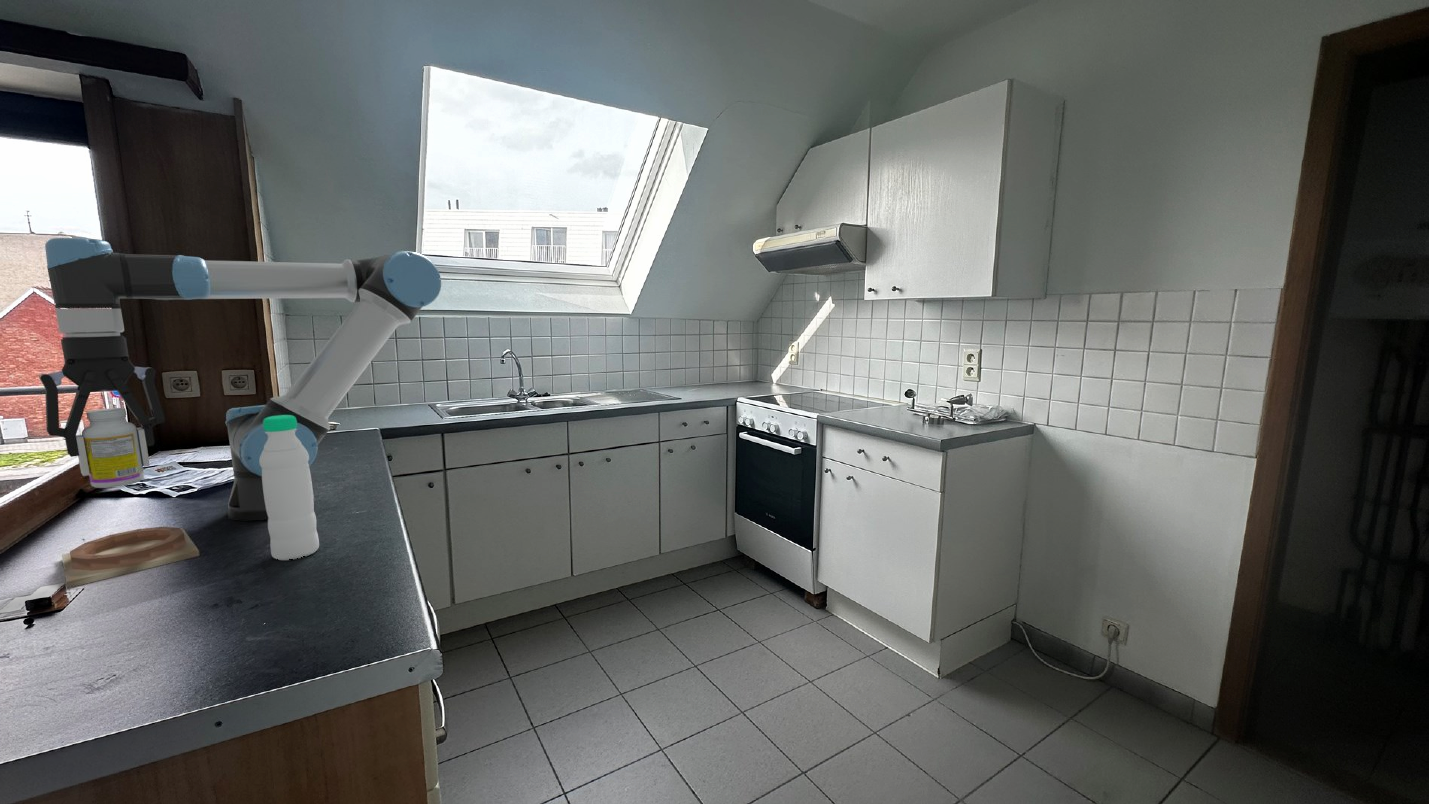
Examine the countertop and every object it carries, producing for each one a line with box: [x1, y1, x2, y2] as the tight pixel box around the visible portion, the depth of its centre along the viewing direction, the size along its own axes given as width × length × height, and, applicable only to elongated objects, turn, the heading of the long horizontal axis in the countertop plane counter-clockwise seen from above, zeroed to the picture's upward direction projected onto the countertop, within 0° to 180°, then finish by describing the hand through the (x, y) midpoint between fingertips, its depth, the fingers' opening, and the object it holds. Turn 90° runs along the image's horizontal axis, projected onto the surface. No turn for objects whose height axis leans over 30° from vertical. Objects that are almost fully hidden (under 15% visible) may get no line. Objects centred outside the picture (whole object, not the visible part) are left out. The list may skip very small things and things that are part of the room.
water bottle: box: [259, 415, 320, 561], centre depth 105 cm, size 7×7×25 cm
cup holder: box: [61, 526, 200, 588], centre depth 105 cm, size 16×16×3 cm
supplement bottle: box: [81, 407, 145, 489], centre depth 102 cm, size 7×7×13 cm
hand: (116, 469), depth 102 cm, fingers closed on supplement bottle, 7 cm apart
